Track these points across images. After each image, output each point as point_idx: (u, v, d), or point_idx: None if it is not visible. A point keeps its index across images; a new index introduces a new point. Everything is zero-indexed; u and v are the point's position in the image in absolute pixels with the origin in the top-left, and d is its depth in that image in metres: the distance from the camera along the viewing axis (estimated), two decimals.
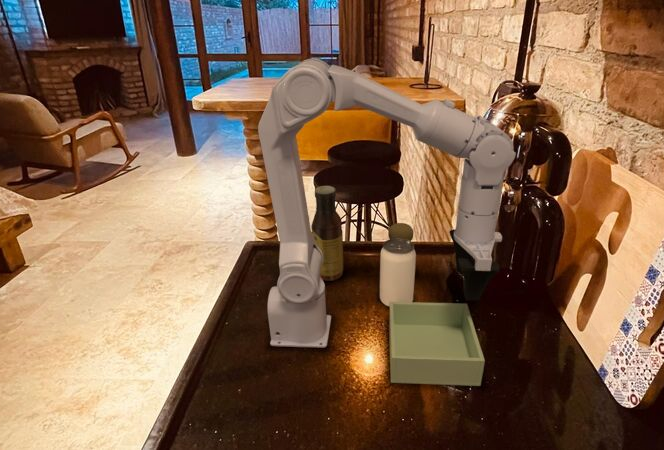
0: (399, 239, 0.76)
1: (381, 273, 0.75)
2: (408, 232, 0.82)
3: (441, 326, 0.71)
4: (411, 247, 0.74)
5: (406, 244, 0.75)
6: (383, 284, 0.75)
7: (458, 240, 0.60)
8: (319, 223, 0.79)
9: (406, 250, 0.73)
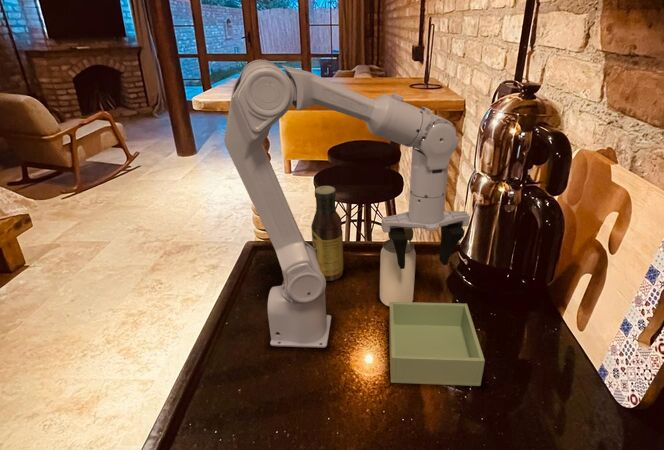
0: None
1: (381, 273, 0.75)
2: (408, 232, 0.82)
3: (441, 326, 0.71)
4: (411, 247, 0.74)
5: None
6: (383, 284, 0.75)
7: None
8: (319, 223, 0.79)
9: (406, 250, 0.73)
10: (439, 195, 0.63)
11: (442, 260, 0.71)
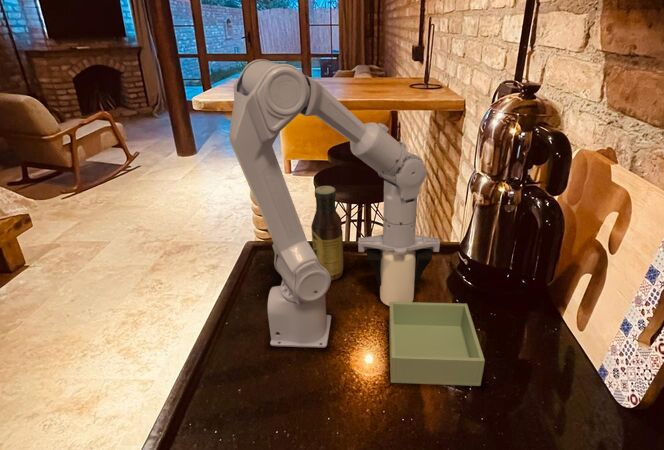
0: None
1: (381, 273, 0.75)
2: None
3: (441, 326, 0.71)
4: None
5: None
6: (384, 283, 0.75)
7: None
8: (319, 223, 0.79)
9: None
10: (412, 221, 0.69)
11: (414, 281, 0.76)
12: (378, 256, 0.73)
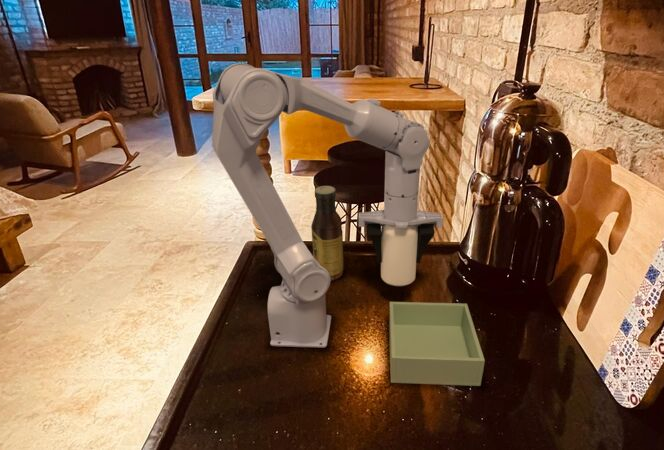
0: None
1: (382, 249, 0.73)
2: None
3: (441, 326, 0.71)
4: None
5: None
6: (385, 260, 0.73)
7: None
8: (319, 223, 0.79)
9: None
10: (414, 194, 0.67)
11: (416, 258, 0.74)
12: (379, 231, 0.70)
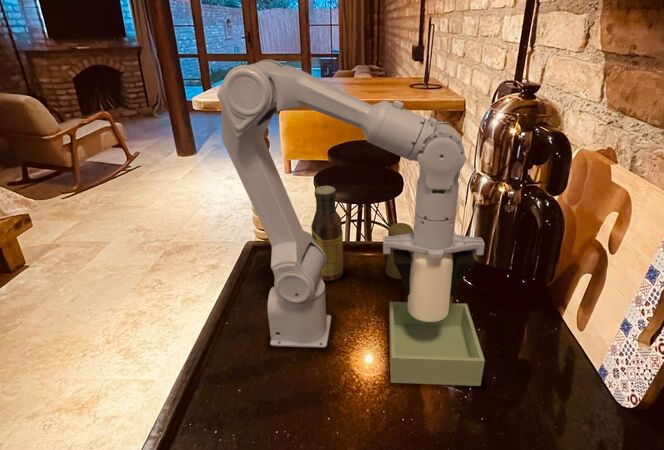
0: None
1: (410, 279, 0.62)
2: (408, 232, 0.82)
3: (441, 326, 0.71)
4: None
5: None
6: (413, 293, 0.62)
7: None
8: (319, 223, 0.79)
9: None
10: (441, 219, 0.55)
11: None
12: (408, 259, 0.59)
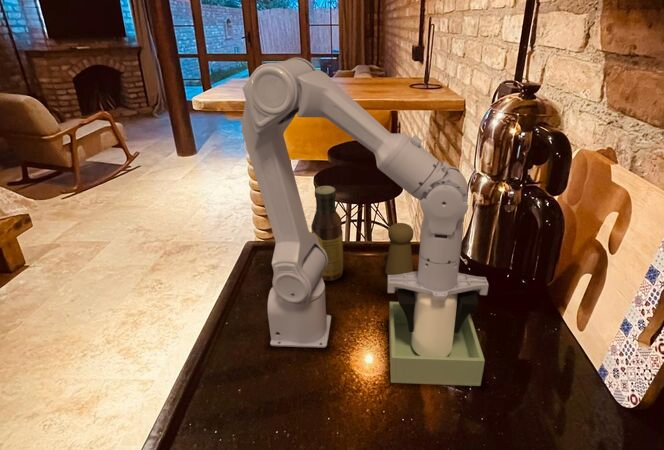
0: None
1: (414, 317, 0.62)
2: (408, 232, 0.82)
3: None
4: None
5: None
6: (417, 330, 0.62)
7: None
8: (319, 223, 0.79)
9: None
10: (443, 262, 0.55)
11: None
12: (412, 299, 0.60)
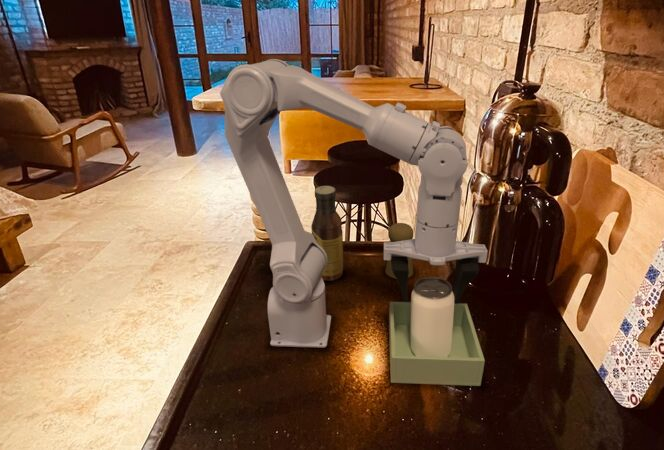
0: (433, 279, 0.63)
1: (412, 320, 0.62)
2: (408, 232, 0.82)
3: None
4: (448, 289, 0.61)
5: (441, 284, 0.62)
6: (416, 333, 0.62)
7: None
8: (319, 223, 0.79)
9: (443, 293, 0.60)
10: (442, 226, 0.54)
11: None
12: (405, 266, 0.58)
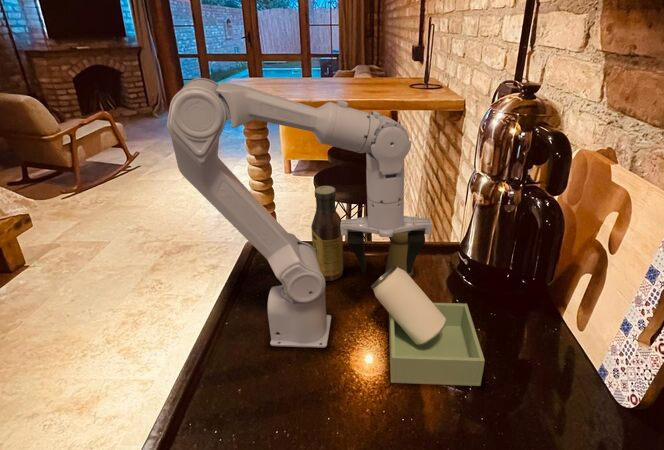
0: (385, 275, 0.69)
1: (392, 314, 0.65)
2: None
3: None
4: None
5: (391, 271, 0.68)
6: (402, 322, 0.64)
7: None
8: (319, 223, 0.79)
9: None
10: (395, 200, 0.61)
11: None
12: (360, 240, 0.65)
